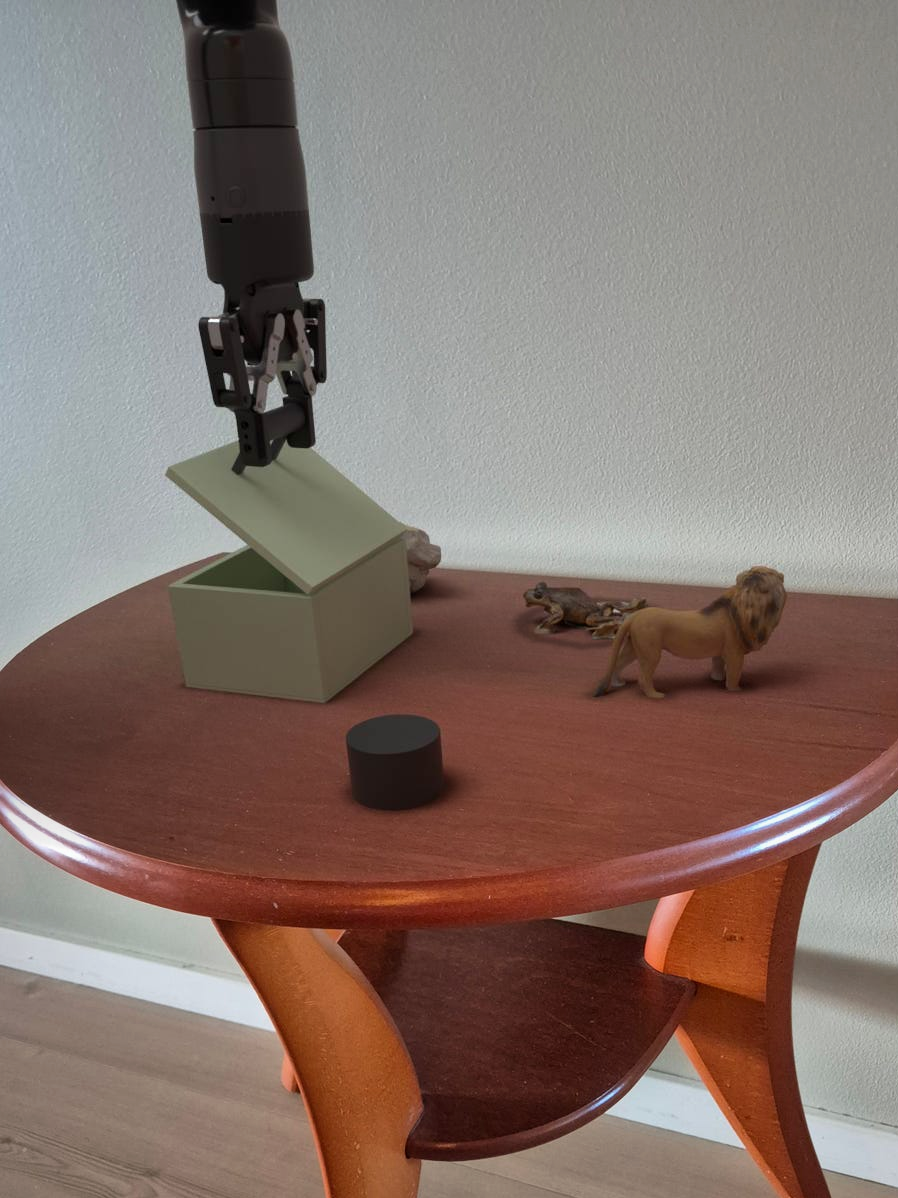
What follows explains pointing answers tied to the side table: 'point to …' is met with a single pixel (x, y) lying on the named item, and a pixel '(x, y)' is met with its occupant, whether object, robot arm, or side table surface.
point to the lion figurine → (702, 631)
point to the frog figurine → (579, 610)
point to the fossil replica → (419, 556)
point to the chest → (288, 625)
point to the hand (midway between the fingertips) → (280, 455)
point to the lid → (289, 505)
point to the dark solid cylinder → (395, 762)
